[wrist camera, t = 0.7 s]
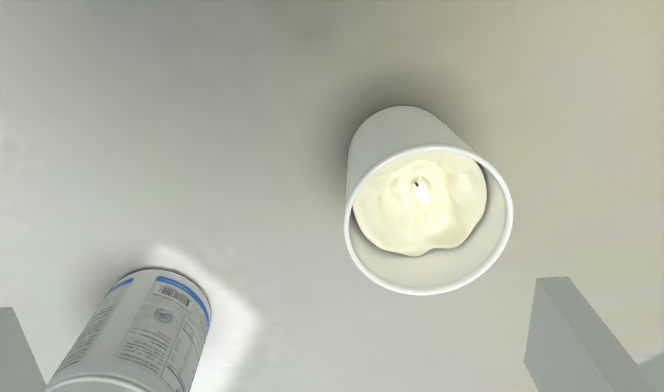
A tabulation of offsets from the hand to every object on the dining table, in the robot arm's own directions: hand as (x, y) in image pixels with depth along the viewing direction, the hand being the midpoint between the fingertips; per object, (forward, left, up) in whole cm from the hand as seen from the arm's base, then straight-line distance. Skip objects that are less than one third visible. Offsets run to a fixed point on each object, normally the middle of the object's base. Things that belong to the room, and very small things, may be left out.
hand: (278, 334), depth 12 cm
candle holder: (+6, +6, -27) cm, 28 cm away
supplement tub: (+16, -18, -27) cm, 36 cm away
